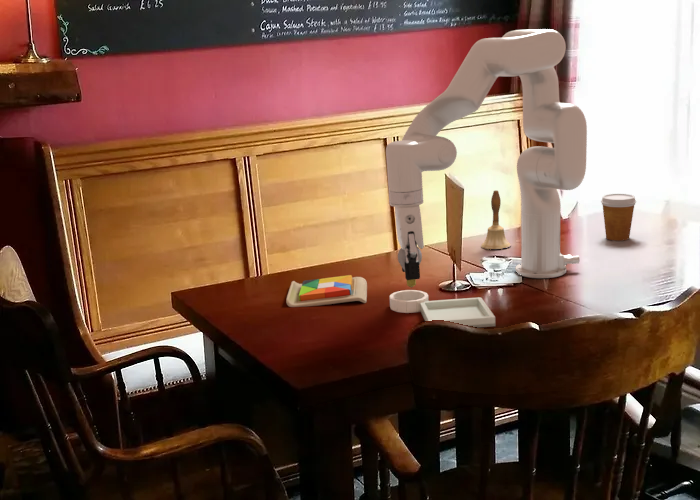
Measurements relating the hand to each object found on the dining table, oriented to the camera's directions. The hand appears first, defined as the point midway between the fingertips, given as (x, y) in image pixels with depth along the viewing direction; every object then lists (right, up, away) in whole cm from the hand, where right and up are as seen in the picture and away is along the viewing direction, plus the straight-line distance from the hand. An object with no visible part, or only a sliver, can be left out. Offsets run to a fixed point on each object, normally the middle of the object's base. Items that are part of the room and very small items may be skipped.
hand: (410, 274), depth 201 cm
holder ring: (0, -7, +1) cm, 8 cm away
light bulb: (0, -3, +1) cm, 3 cm away
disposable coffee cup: (+62, +9, +51) cm, 81 cm away
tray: (+9, -9, -8) cm, 15 cm away
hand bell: (+27, +6, +50) cm, 57 cm away
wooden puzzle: (-19, -6, +14) cm, 25 cm away
